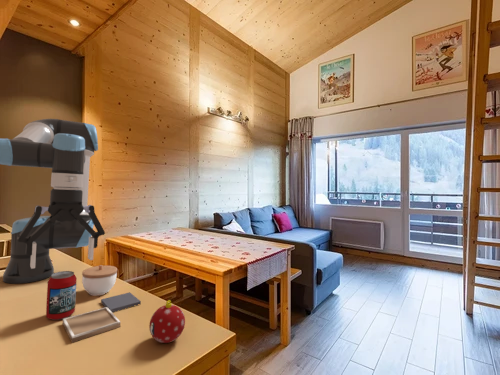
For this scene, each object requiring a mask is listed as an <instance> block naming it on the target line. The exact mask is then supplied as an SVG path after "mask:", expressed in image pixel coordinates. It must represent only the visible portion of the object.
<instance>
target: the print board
mask: <svg viewBox="0 0 500 375" xmlns="http://www.w3.org/2000/svg"><path fill="white" fill-rule="evenodd" d="M62 326H63V327H64V329H65V332H66V333H67V335H68V337H69V339H70V341H71V343H75V342H78V340H79V341H81V340H84V339H87V338H91V337H94V336H97V335H99V334H103V333H105V332H108V331H112V330H115V329H118V328H121V321H120V319H119V318H118V317H117V316H116V315H115V314H114V312H111V311H110V310H109V308H108V307H105V306H104V307H102V308H99V309H94V310H91V311H88V312H82V313H80V314H75V315H73V316H72V315H71V316H68V317H67V318H64V319H62Z"/></svg>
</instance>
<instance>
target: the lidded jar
mask: <svg viewBox="0 0 500 375" xmlns="http://www.w3.org/2000/svg"><path fill="white" fill-rule="evenodd" d="M81 273H82V274H81V275H82V287H83V289H84V290H85V292H87V293H88V294H89V295H90V296H96V297H97V296H103V295H105V293H106V294H108V293H109V292H110V290H112V289H113V287H114V286H115V283H116V281H117V276H118V268H117V267H116V266H114V265H103V264H100V265H96V266H92V267H87V268H86V269H84V270H83V271H82V272H81ZM107 292H108V293H107Z"/></svg>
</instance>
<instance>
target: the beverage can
mask: <svg viewBox="0 0 500 375" xmlns="http://www.w3.org/2000/svg"><path fill="white" fill-rule="evenodd" d="M46 290H47V291H46V307H45V308H46V310H45V313H46V314H45V316H46V318H47V319H50V320H52V321H58V320H59V321H60V320H63V319H64V318H68V317H71V316H72V314H74V313H75V312H76V299H77V297H76V296H77V276H76V275H75V272H74V271H72V270H71V271H70V270H62V271H57V272H54V274H52V275H51V276H50V277H49V279H48V281H47V288H46Z"/></svg>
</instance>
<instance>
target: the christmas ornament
mask: <svg viewBox="0 0 500 375" xmlns="http://www.w3.org/2000/svg"><path fill="white" fill-rule="evenodd" d="M148 326H149V332H150V335H151V337H152V338H153V339H154V340H155V341H156V342H158V343H160V344H161V343H162V344H168V343H172V342H174V341H175V340H177V339H178V338H179V337H180V336H181V335H182V333H183V331H184V329H185V326H186V317H185V313H184V312H183V310H182V309H181V308H180V307H179V306H177V305H174V304H172V301H171V300H170V299H169V300H167V301H166V303H165V304H164V305H162V306H160V307H159V308H157V309H156V310H155V312H154V313H152V315H151V317H150V320H149V325H148Z"/></svg>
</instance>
